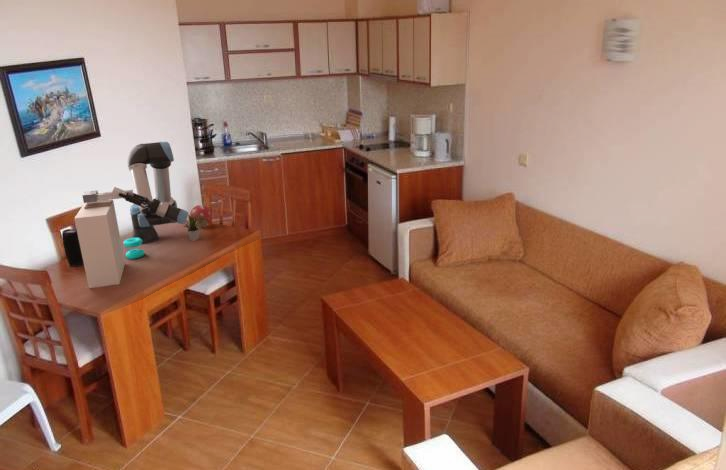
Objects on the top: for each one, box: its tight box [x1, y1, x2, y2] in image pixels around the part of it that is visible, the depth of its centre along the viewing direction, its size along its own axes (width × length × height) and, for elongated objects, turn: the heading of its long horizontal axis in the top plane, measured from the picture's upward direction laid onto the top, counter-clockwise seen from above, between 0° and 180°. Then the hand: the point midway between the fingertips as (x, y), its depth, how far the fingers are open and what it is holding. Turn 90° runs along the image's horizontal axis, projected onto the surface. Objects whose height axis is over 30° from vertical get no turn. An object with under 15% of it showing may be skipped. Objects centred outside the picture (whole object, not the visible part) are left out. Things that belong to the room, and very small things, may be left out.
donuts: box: [122, 237, 145, 260], centre depth 316 cm, size 10×10×10 cm
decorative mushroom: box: [189, 204, 212, 228], centre depth 363 cm, size 13×13×15 cm
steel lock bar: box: [82, 189, 134, 204], centre depth 288 cm, size 23×8×4 cm, turn 107°
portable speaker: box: [62, 228, 84, 267], centre depth 306 cm, size 9×9×20 cm
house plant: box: [183, 213, 202, 241], centre depth 341 cm, size 14×14×16 cm
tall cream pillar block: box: [74, 199, 126, 289], centre depth 286 cm, size 14×30×37 cm, turn 17°
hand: (113, 190), depth 288 cm, fingers closed on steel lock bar, 4 cm apart
